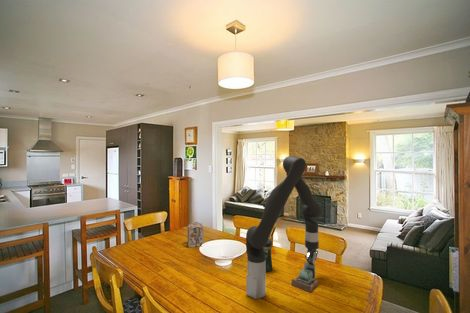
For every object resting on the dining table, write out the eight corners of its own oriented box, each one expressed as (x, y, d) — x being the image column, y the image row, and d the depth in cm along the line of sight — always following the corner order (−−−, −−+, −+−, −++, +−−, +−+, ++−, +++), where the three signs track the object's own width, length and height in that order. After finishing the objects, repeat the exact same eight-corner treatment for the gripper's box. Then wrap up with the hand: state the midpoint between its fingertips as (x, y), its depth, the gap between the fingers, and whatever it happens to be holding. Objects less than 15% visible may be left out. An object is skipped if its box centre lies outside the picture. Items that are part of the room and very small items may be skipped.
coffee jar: (273, 267, 148) (273, 237, 148) (271, 272, 140) (271, 241, 141) (258, 265, 151) (258, 236, 151) (255, 270, 143) (255, 240, 143)
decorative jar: (187, 242, 191) (187, 220, 191) (201, 241, 194) (201, 219, 195) (188, 248, 179) (189, 224, 180) (203, 246, 183) (204, 223, 183)
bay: (310, 292, 120) (310, 286, 120) (291, 285, 126) (291, 279, 126) (318, 284, 128) (318, 278, 128) (300, 277, 134) (300, 272, 134)
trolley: (308, 287, 123) (308, 271, 123) (297, 283, 127) (297, 267, 127) (315, 281, 130) (315, 265, 130) (305, 277, 134) (304, 262, 134)
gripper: (313, 243, 127) (313, 275, 127) (322, 237, 137) (322, 267, 137) (300, 240, 132) (300, 271, 132) (310, 235, 142) (310, 263, 142)
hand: (311, 269), depth 134 cm, fingers closed
